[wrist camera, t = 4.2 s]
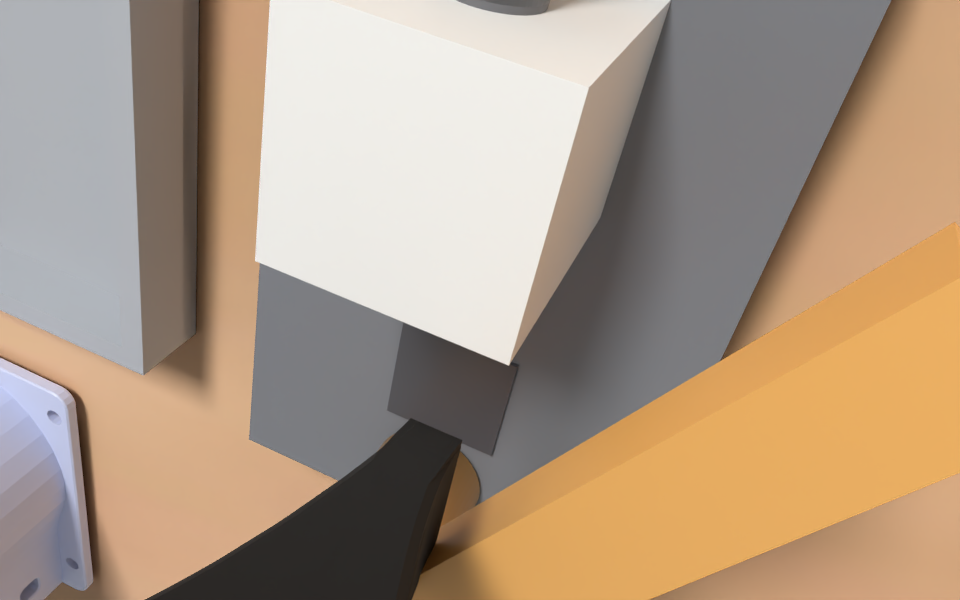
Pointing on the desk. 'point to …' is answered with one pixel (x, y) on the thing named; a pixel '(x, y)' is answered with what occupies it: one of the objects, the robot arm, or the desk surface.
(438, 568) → the clip
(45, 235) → the tray
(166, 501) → the desk surface
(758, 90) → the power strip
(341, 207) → the plug
